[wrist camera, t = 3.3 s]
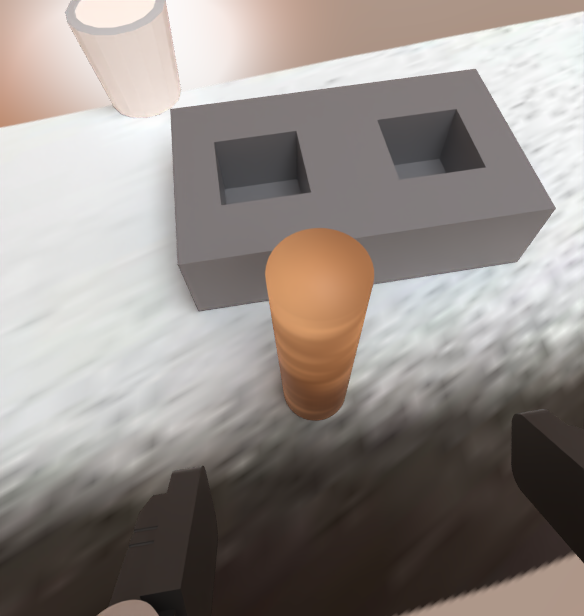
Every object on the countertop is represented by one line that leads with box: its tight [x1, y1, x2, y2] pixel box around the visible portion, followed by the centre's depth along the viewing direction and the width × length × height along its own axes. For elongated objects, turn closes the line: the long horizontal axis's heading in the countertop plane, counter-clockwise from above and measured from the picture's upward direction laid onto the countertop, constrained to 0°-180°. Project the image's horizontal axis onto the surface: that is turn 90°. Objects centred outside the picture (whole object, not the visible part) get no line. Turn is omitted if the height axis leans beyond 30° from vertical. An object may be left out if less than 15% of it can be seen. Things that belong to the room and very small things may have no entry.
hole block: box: [170, 69, 556, 311], centre depth 28 cm, size 20×12×5 cm, turn 99°
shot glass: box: [65, 0, 181, 118], centre depth 34 cm, size 7×7×7 cm
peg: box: [265, 228, 374, 420], centre depth 19 cm, size 3×3×12 cm
